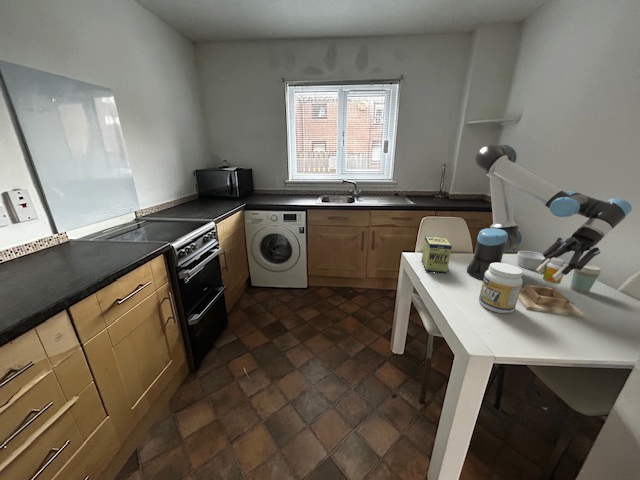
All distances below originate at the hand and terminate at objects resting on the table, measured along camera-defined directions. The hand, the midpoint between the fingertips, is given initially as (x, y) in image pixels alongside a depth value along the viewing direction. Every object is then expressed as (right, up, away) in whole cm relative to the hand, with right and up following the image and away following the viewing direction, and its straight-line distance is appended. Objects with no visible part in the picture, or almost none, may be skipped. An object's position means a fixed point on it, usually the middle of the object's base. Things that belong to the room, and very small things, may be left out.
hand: (546, 275), depth 99 cm
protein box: (-28, -1, +38) cm, 47 cm away
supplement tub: (-18, -13, +2) cm, 23 cm away
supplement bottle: (+4, -3, +2) cm, 5 cm away
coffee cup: (+28, -9, +15) cm, 33 cm away
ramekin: (+27, -1, +40) cm, 48 cm away
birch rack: (+3, -12, +5) cm, 13 cm away
